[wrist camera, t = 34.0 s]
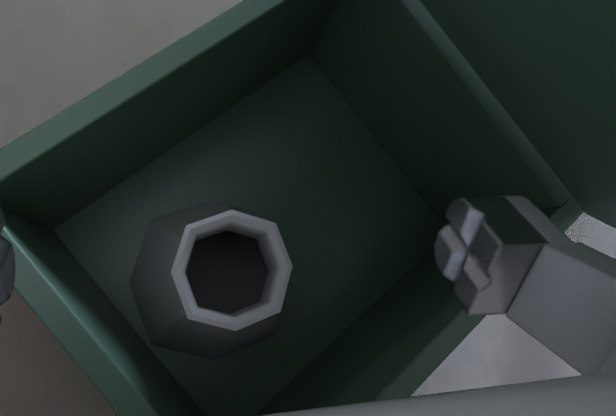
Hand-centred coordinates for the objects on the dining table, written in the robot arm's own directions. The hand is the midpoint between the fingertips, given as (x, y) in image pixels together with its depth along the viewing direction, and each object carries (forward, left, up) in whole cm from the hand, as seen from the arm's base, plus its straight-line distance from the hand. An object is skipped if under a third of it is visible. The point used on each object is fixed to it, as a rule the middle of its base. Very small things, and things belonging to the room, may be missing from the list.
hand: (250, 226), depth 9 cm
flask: (0, -1, -14) cm, 14 cm away
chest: (+3, +1, -15) cm, 15 cm away
